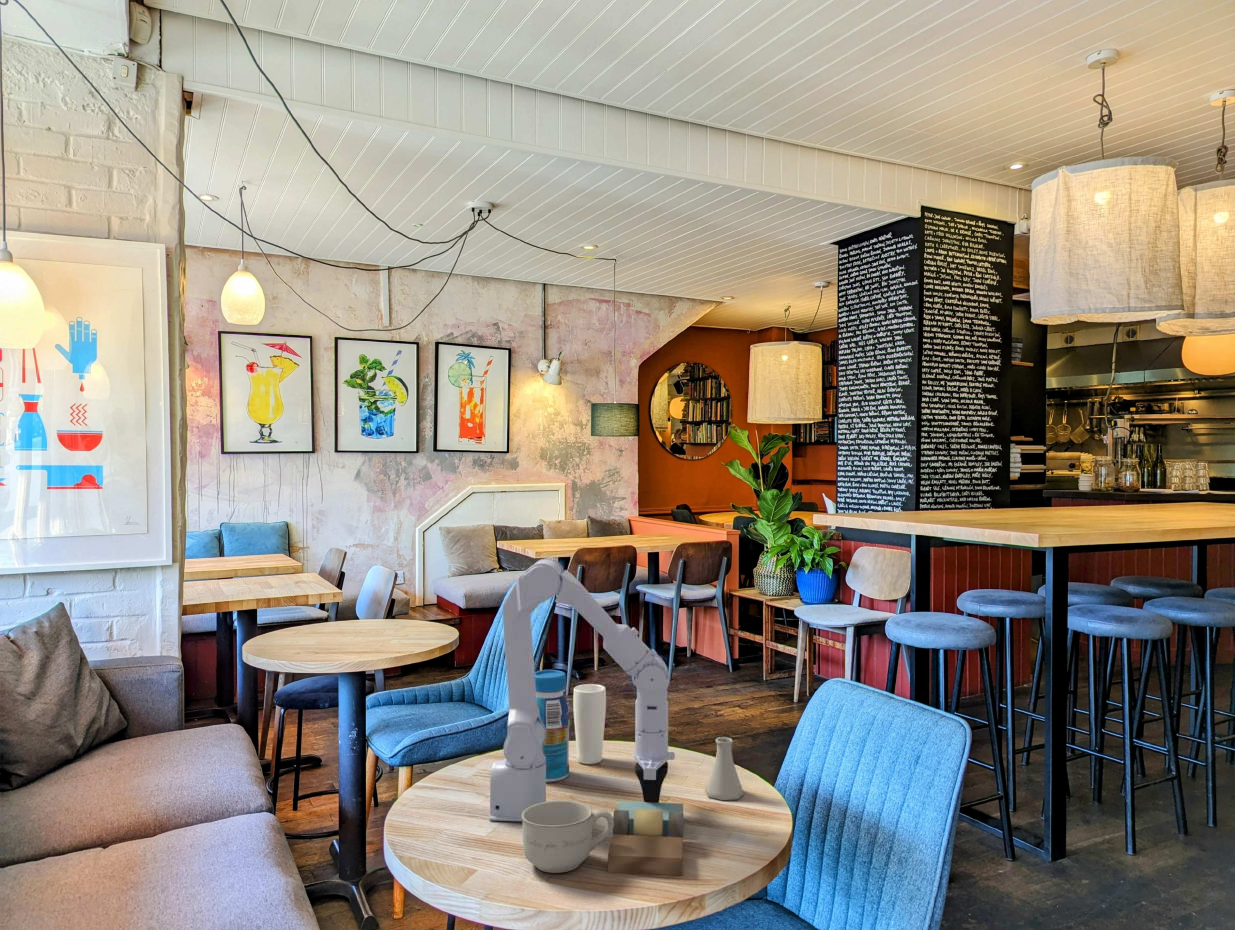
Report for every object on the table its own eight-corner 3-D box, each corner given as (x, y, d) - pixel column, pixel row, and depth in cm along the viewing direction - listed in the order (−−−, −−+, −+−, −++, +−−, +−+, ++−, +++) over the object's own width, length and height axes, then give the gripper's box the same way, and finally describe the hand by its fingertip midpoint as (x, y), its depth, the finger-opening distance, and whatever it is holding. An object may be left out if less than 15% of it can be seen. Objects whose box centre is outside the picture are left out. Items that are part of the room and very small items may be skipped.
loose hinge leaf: (613, 848, 128) (613, 816, 129) (619, 815, 141) (619, 786, 141) (682, 851, 128) (682, 819, 128) (683, 818, 140) (683, 789, 140)
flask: (743, 803, 146) (742, 747, 147) (702, 799, 148) (702, 744, 148) (745, 788, 154) (744, 734, 154) (706, 785, 155) (706, 732, 155)
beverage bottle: (519, 780, 157) (519, 676, 157) (538, 765, 165) (538, 666, 165) (559, 786, 154) (559, 680, 155) (576, 771, 162) (577, 670, 162)
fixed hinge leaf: (608, 872, 121) (608, 838, 121) (615, 835, 133) (615, 804, 133) (682, 875, 120) (682, 841, 120) (682, 838, 132) (683, 807, 132)
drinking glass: (612, 759, 169) (612, 686, 169) (593, 768, 163) (594, 694, 164) (585, 753, 173) (585, 682, 173) (566, 762, 167) (566, 689, 167)
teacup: (515, 880, 118) (516, 825, 118) (527, 846, 129) (527, 795, 129) (611, 882, 118) (611, 827, 118) (615, 848, 128) (615, 797, 128)
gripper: (674, 742, 134) (673, 825, 134) (675, 716, 148) (675, 791, 148) (631, 740, 134) (631, 823, 134) (636, 715, 149) (636, 789, 149)
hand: (651, 806), depth 141 cm, fingers closed
